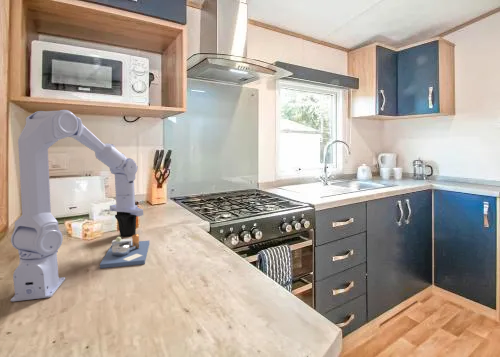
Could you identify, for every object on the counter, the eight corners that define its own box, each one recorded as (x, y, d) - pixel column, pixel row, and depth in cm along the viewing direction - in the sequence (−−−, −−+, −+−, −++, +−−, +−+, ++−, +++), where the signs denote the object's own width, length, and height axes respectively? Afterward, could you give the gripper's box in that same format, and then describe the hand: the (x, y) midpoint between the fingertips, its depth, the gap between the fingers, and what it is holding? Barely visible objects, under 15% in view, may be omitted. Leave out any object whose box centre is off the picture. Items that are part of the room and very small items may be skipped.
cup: (130, 238, 107) (129, 207, 106) (112, 237, 108) (111, 206, 107) (142, 232, 114) (141, 203, 113) (125, 231, 116) (123, 202, 115)
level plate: (144, 264, 84) (144, 250, 84) (100, 268, 81) (99, 254, 80) (149, 243, 101) (149, 232, 101) (112, 246, 98) (112, 235, 98)
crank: (119, 257, 85) (118, 243, 85) (108, 254, 88) (108, 240, 87) (143, 248, 93) (143, 235, 93) (133, 245, 96) (132, 232, 95)
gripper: (150, 194, 93) (151, 234, 95) (121, 190, 101) (123, 228, 102) (131, 198, 87) (133, 240, 89) (103, 193, 94) (105, 233, 96)
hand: (127, 234), depth 95 cm, fingers closed
